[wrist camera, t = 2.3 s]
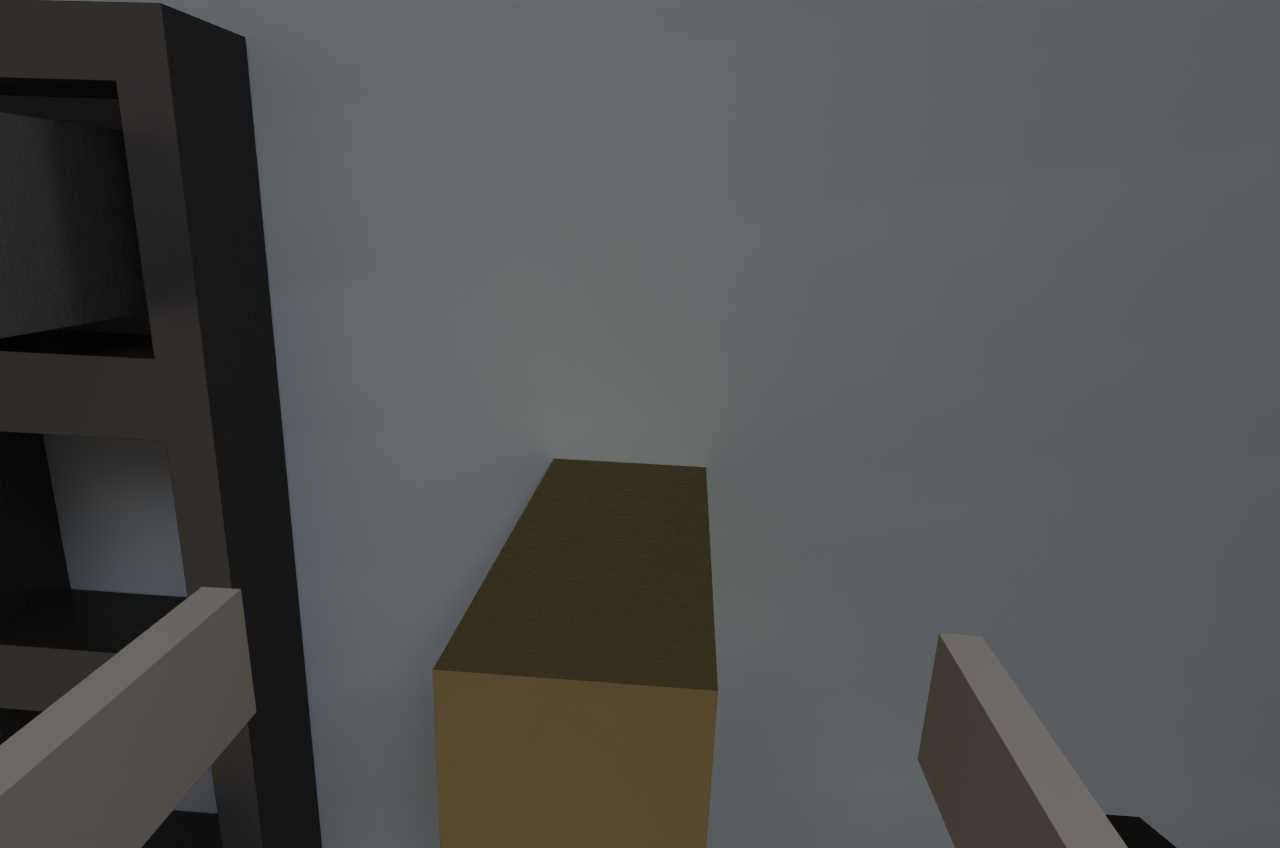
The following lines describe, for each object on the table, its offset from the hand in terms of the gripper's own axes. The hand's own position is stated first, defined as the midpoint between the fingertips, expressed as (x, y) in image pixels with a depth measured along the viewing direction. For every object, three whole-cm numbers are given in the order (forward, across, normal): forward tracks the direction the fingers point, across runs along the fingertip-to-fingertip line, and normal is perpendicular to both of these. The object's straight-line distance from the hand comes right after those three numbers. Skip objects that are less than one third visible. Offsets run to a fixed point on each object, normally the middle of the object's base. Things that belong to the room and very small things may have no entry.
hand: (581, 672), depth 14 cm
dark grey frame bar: (+7, +14, 0) cm, 16 cm away
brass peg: (+7, 0, 0) cm, 7 cm away
